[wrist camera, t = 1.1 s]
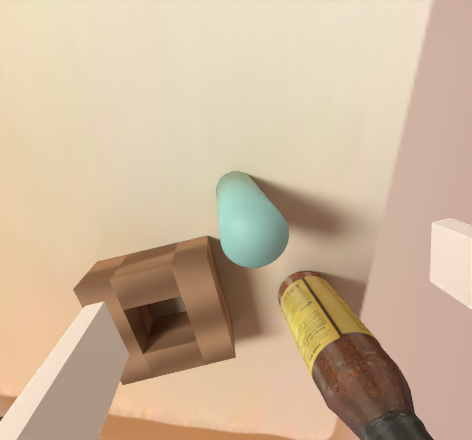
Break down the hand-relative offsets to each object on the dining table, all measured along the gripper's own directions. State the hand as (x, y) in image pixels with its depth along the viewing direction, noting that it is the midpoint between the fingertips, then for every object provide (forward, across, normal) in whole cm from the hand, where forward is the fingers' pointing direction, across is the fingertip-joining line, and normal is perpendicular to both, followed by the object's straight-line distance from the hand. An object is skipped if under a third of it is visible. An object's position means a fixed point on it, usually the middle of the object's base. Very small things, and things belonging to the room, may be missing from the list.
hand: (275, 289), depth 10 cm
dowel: (+17, 0, 0) cm, 17 cm away
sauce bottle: (+17, +5, -13) cm, 22 cm away
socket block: (+17, -10, -10) cm, 22 cm away
